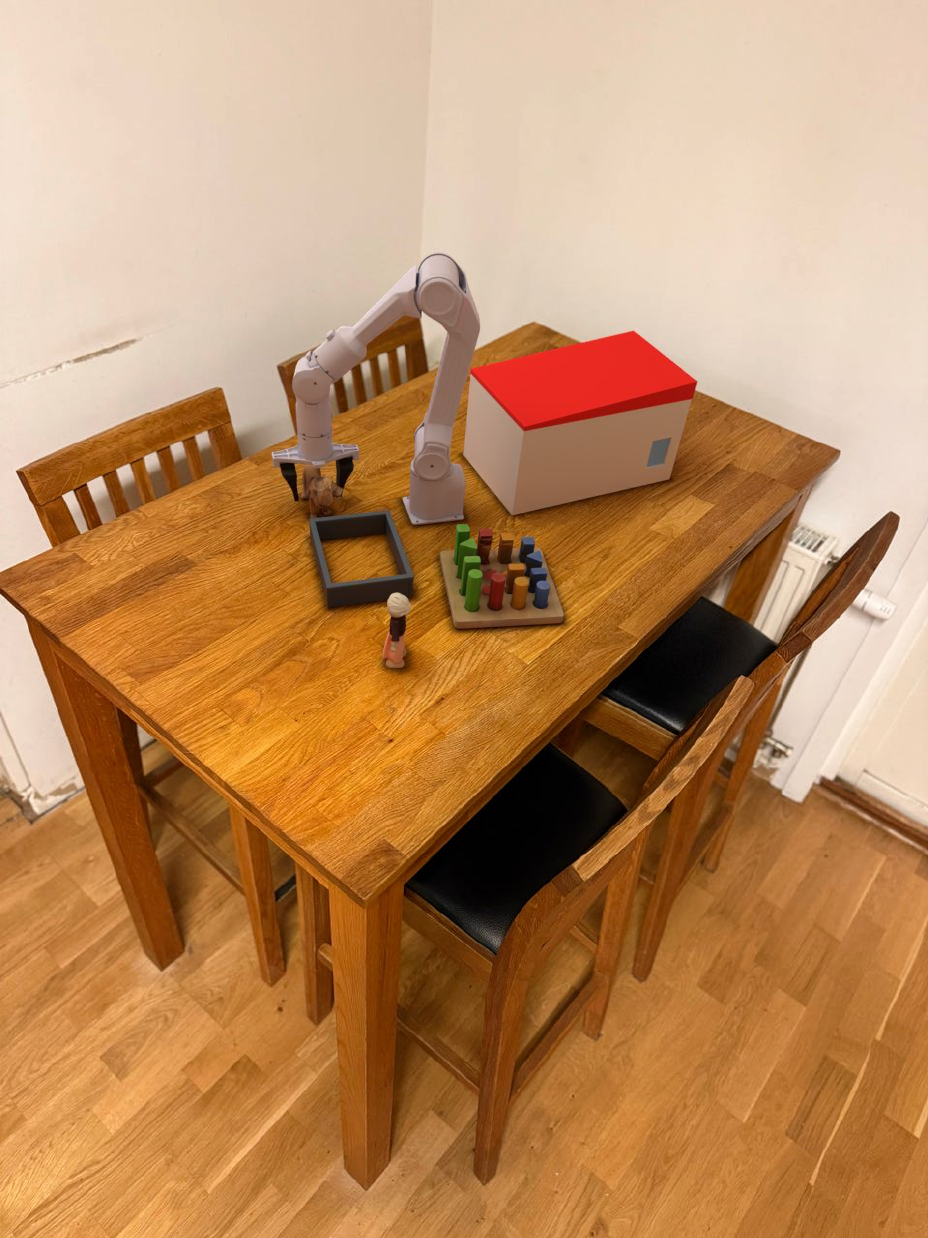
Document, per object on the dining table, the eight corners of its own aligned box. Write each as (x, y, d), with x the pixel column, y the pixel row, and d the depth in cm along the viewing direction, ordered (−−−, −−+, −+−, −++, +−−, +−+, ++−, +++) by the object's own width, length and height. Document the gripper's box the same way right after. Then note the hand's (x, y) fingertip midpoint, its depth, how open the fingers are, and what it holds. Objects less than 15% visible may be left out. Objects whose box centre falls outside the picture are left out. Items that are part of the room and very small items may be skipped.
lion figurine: (346, 524, 154) (345, 481, 147) (317, 531, 152) (315, 488, 145) (315, 479, 163) (313, 436, 156) (287, 485, 161) (284, 442, 154)
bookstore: (671, 478, 172) (698, 381, 157) (512, 515, 159) (526, 412, 145) (613, 424, 185) (634, 330, 170) (462, 454, 172) (471, 355, 158)
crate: (389, 529, 153) (389, 510, 151) (413, 596, 141) (413, 576, 138) (310, 538, 150) (308, 518, 147) (327, 608, 138) (326, 588, 135)
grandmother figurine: (382, 641, 133) (383, 578, 125) (407, 641, 134) (410, 578, 125) (382, 679, 128) (383, 615, 119) (409, 679, 128) (412, 615, 120)
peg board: (563, 624, 139) (572, 583, 133) (454, 630, 136) (458, 588, 131) (539, 553, 152) (546, 513, 146) (439, 558, 149) (441, 517, 143)
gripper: (273, 445, 142) (279, 513, 151) (362, 437, 145) (362, 504, 155) (267, 422, 147) (273, 490, 156) (354, 415, 150) (355, 481, 160)
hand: (317, 495), depth 156 cm, fingers open, 7 cm apart
